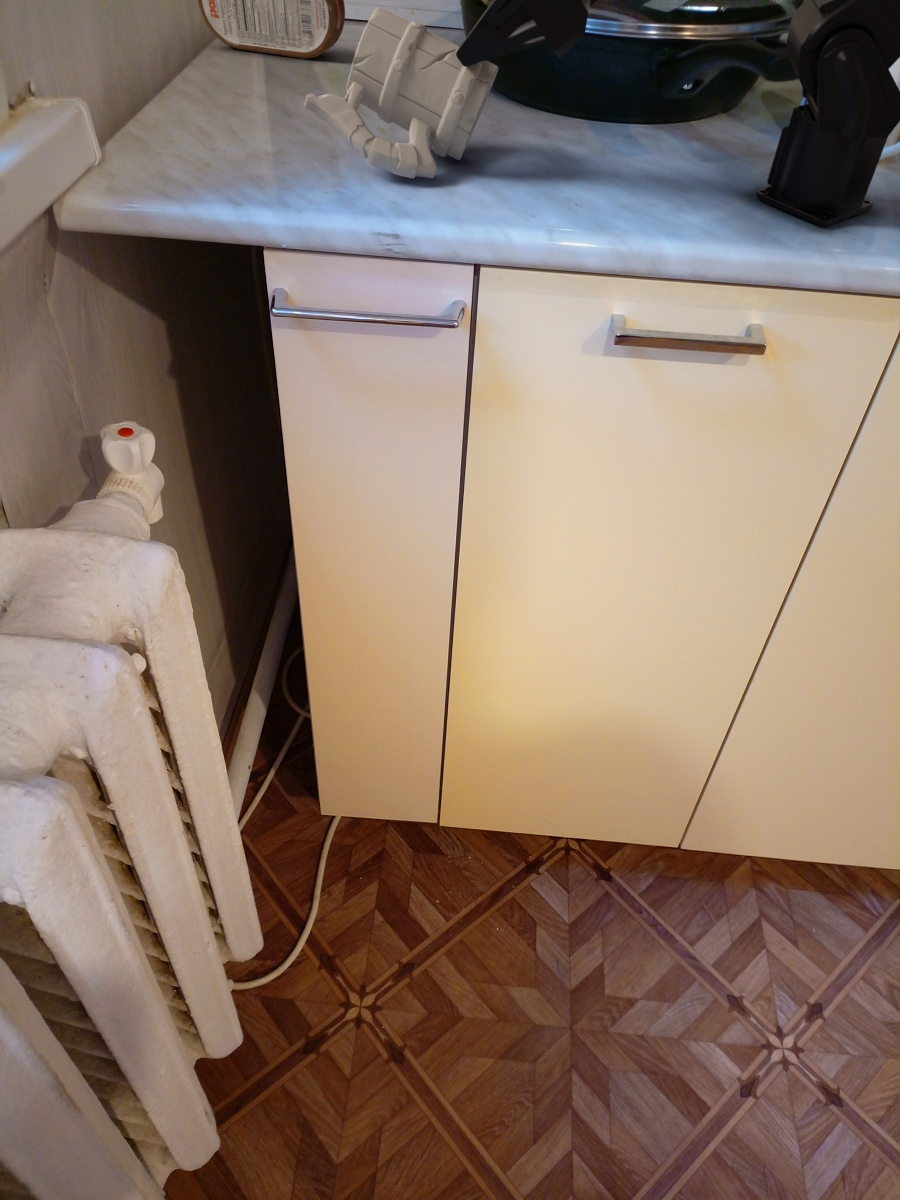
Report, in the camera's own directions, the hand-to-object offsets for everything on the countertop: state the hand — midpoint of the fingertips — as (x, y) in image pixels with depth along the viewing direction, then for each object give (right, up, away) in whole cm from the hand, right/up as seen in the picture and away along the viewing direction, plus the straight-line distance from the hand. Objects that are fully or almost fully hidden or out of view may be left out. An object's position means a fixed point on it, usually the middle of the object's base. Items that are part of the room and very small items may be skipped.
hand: (460, 59), depth 63 cm
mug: (+1, -4, +4) cm, 5 cm away
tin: (-19, +17, +26) cm, 36 cm away
